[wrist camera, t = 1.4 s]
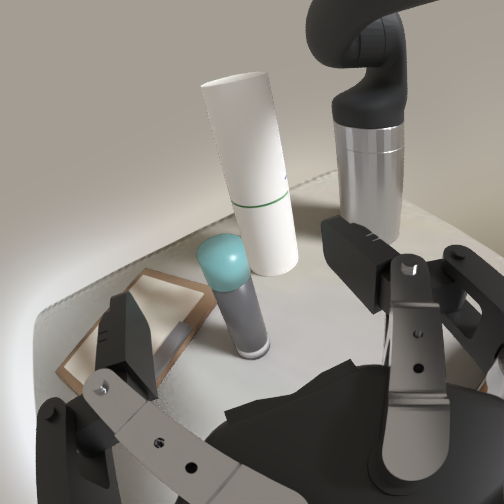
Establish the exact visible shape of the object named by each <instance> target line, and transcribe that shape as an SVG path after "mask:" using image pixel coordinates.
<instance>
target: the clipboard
mask: <svg viewBox="0 0 504 504" xmlns="http://www.w3.org/2000/svg"><path fill="white" fill-rule="evenodd" d="M126 291H129V292H130V293H131V294H132V296H133V297H134V299H135V301H136V303H137V304H138V306H139V308H140V309H141V311H142V313H143V314H144V316H145V318H146V320H147V322H148V324H149V327H150V331H151V340H152V351H153V361H154V370H155V379H156V387H158V386H159V384H160V383H161V381H162V380H163V379H164V377H165V376H166V374H167V373H168V372H169V370H170V369H171V367H172V366H173V365H174V363H175V362H176V360H177V359H178V358H179V356H180V355H181V353H182V352H183V351H184V349H185V348H186V346H187V345H188V344H189V342H190V341H191V339H192V338H193V337H194V335H195V334H196V332H197V331H198V330H199V328H200V327H201V325H202V324H203V323H204V321H205V320H206V318H207V317H208V316H209V314H210V313H211V311H212V310H213V309H214V307H215V306H216V304H217V301H216V299H215V297H214V294H213V292H212V289H211V288H210V287H209V286H208V285H204V284H201V283H197V282H193V281H190V280H186V279H182V278H179V277H175V276H172V275H168V274H165V273H161V272H158V271H154V270H151V269H147V268H145V269H144V270H143V271H142V272H141V273H140V274H139V275H138V277H137V278H136V279H135V280H134V281H133V282H132V283H131V284H130V285H129V286H128V287H127V289H126V290H125V291H124V292H126ZM109 310H110V308H109V309H108V310H107V311H106V312H109ZM106 312H105V313H106ZM102 316H103V315H102ZM101 318H102V317H101ZM101 318H100V319H99V320H98V321H97V322H96V324H95V325H94V326H93V327H92V328H91V329H90V331H89V332H88V333H87V334H86V335H85V336H84V338H83V339H82V340H81V341H80V342H79V344H78V345H77V346H76V347H75V348H74V350H73V351H72V352H71V353H70V354H69V356H68V357H67V358H66V359H65V361H64V362H63V363H62V364H61V366H60V367H59V368H58V369H57V371H56V373H57V374H58V375H59V376H60V377H61V378H62V379H63V380H64V381H65V382H66V383H67V384H68V385H69V386H70V387H71V388H72V389H73V390H74V391H75V392H76V393H77V394H78V395H79V396H80V395H81V394H82V393H83V392H82V391H83V385H84V383H85V381H86V379H87V378H88V377H89V376H90V375H91V374H92V373H93V372H95V358H96V346H97V335H98V326H99V322H100V320H101Z"/></svg>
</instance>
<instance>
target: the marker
mask: <svg viewBox="0 0 504 504" xmlns="http://www.w3.org/2000/svg"><path fill="white" fill-rule="evenodd" d="M196 255H197V258H198V261H199V263H200V266H201V268H202V271H203V273H204V276H205V278H206V280H207V283H208V285H209V287H210V288H211V289H212V292H213V294H214V297H215V299H216V301H217V304H218V306H219V309H220V311H221V313H222V316H223V318H224V320H225V323H226V325H227V327H228V329H229V332H230V334H231V336H232V339H233V341H234V344H235V347H236V349H237V351H238V353H239V354H240V355H241V356H242V357H243V358H245V359H248V360H256V359H259V358H261V357H263V356H264V355H265V354H266V353H267V352H268V350H269V347H270V341H269V337H268V334H267V331H266V328H265V325H264V321H263V318H262V314H261V310H260V307H259V303H258V300H257V296H256V293H255V289H254V286H253V282H252V278H251V275H250V274H251V271H250V267H249V263H248V260H247V256H246V252H245V249H244V245H243V242H242V240H241V238H240V237H238V236H237V235H234V234H220V235H216V236H213V237H211V238H209V239H207V240H206V241H204V242H203V243H202V244H201V245H200V246H199V248H198V250H197V253H196Z"/></svg>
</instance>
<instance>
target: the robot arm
mask: <svg viewBox="0 0 504 504" xmlns="http://www.w3.org/2000/svg"><path fill="white" fill-rule="evenodd" d="M434 1H437V0H313V1H312V3H311V5H310V8H309V11H308V14H307V19H306V39H307V44H308V47H309V49H310V51H311V53H312V54H313V56H314V57H315V58H316V59H317V60H318V61H319V62H320V63H322V64H323V65H325V66H328V67H333V68H359V67H360V68H362V67H367V69H366V74H365V77H364V78H363V79H362V80H361V81H360V82H359V83H358V84H356V85H355V86H354V87H352V88H350V89H348V90H346V91H344V92H343V93H340V94H339V95H337V96H336V97H335V98H334V99H333V101H332V114H333V123H334V132H335V142H336V153H337V165H338V179H339V196H340V216H339V215H338V216H335V217H332V218H329V219H326V220H324V221H322V222H321V232H322V242H323V252H324V257H325V260H326V262H327V264H328V265H329V267H330V268H331V269H332V270H333V271H334V272H335V273H336V274H337V275H338V276H339V277H340V279H341V280H342V281H343V282H344V283H345V284H346V285H347V286H348V287H349V288H350V289H351V291H352V292H353V293H354V294H355V295H356V296H357V297H358V298H359V299H360V301H361V302H362V303H363V304H364V305H365V306H366V307H367V308H368V310H369V311H370V312H371V313H372V314H375V313H377V312H379V311H381V310H383V311H384V312H385V313H386V314H385V327H384V344H383V357H382V364H381V365H375V364H373V365H361V366H355V365H354V363H353V362H352V360H351V359H349V360H347V361H345V362H343V363H341V364H339V365H337V366H335V367H333V368H331V369H329V370H326V371H324V372H322V373H321V374H319V375H318V376H317V377H315V378H314V379H313V380H311V381H310V382H309V383H307V384H306V385H305V386H303V387H302V388H301V389H299V390H298V391H297V392H295V393H293V394H290V395H285V396H279V397H273V398H267V399H260V400H255V401H252V402H250V403H247V404H244V405H241V406H239V407H236V408H233V409H230V410H227V411H224V413H225V416H226V419H227V421H225V422H224V423H222V424H221V425H219V426H218V427H217V428H216V429H215V430H214V431H213V432H212V433H210V435H209V436H208V437H207V438H206V440H205V441H203V440H202V439H200V438H199V437H197V436H196V435H194V434H193V433H191V432H190V431H189V430H187V429H186V428H184V427H183V426H182V425H180V424H179V423H177V422H176V421H175V420H173V419H172V418H171V417H169V416H168V415H167V414H165V413H164V412H163V411H162V410H160V409H159V408H158V407H156V406H155V405H154V404H153V403H151V402H150V401H151V400H155V399H158V394H157V387H156V379H155V370H154V361H153V351H152V340H151V331H150V327H149V324H148V322H147V320H146V318H145V316H144V314H143V313H142V311H141V309H140V308H139V306H138V304H137V303H136V301H135V299H134V297H133V296H132V294H131V293H130V292H129V291H126V292H123V293H121V294H118V295H115V296H113V297H111V300H110V310H109V312H106V313H104V314H103V316H102V318H101V320H100V322H99V326H98V335H97V346H96V358H95V372H93V373H92V374H91V375H90V376H89V377H88V378H87V379H86V381H85V383H84V385H83V391H82V392H83V393H82V394H81V395H80V396H78V397H76V398H75V399H73V400H71V401H70V402H68V403H65V402H64V401H63V400H61V399H60V398H57V397H53V398H50V399H48V400H47V401H45V402H44V403H43V404H42V406H41V407H40V409H39V411H38V415H37V428H36V485H37V499H38V504H121V499H120V494H119V489H118V484H117V479H116V473H115V467H114V461H113V454H112V446H114V445H115V444H117V443H119V442H121V444H122V445H123V446H124V447H125V448H126V449H127V450H128V451H129V452H130V453H132V454H133V455H134V456H135V457H136V458H137V459H138V460H139V461H140V462H141V463H142V464H143V465H144V466H145V467H146V468H147V469H149V470H150V471H151V472H152V473H153V474H154V475H155V476H156V477H158V478H159V479H160V480H161V481H162V482H163V483H165V484H166V485H167V486H168V487H169V488H171V489H172V490H173V491H174V492H176V493H177V494H178V495H179V496H178V498H177V500H176V502H175V504H504V276H502V275H501V274H500V273H499V272H498V271H497V270H495V269H494V268H493V267H492V266H491V265H489V264H488V263H487V262H486V261H485V260H483V259H482V258H481V257H480V256H478V255H477V254H476V253H475V252H473V251H472V250H471V249H469V248H467V247H465V246H462V245H451V246H448V247H446V248H445V250H444V252H443V258H442V259H439V260H434V261H428V262H426V261H425V260H424V259H423V258H421V257H420V256H417V255H414V254H400V253H398V252H397V251H396V250H395V249H393V248H392V247H391V246H389V245H388V244H389V243H391V242H393V241H394V240H395V239H396V238H397V236H398V234H399V226H400V217H401V207H402V192H403V175H404V109H405V105H406V101H407V57H406V40H405V33H404V28H403V24H402V21H401V18H400V17H399V14H398V12H399V11H402V10H406V9H410V8H413V7H416V6H419V5H423V4H427V3H430V2H434ZM467 293H468V294H469V295H470V296H471V297H472V298H473V299H474V300H475V301H476V302H477V303H478V304H479V305H480V307H481V310H482V315H481V314H480V313H479V312H478V311H477V310H476V309H475V308H474V307H473V306H472V305H471V304H470V303H469V302H468V301H467V300H466V296H467ZM442 323H443V324H444V326H445V327H446V328H447V329H448V330H449V331H450V332H451V333H452V335H453V336H454V337H455V338H456V339H457V340H458V342H459V343H460V344H461V345H462V346H463V347H464V349H465V350H466V351H467V352H468V353H469V355H470V356H471V357H472V358H473V359H474V361H475V362H476V363H477V364H478V365H479V367H480V368H481V369H482V370H483V372H484V373H485V374H486V375H487V377H486V382H487V386H488V391H487V393H485V392H481V391H477V390H473V389H469V388H465V387H461V386H457V385H453V384H449V383H446V370H445V353H444V341H443V330H442Z"/></svg>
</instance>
